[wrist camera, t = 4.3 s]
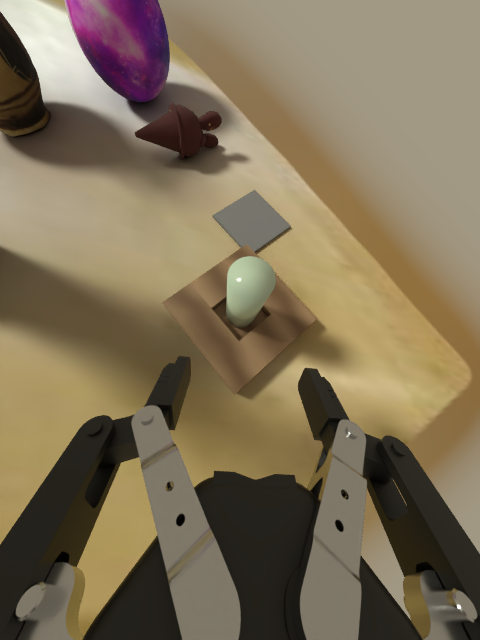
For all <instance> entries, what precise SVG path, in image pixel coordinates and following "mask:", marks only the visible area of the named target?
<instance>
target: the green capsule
mask: <svg viewBox="0 0 480 640" xmlns="http://www.w3.org/2000/svg"><path fill="white" fill-rule="evenodd" d="M275 283H276V277H275V273H274V271H273V269H272V267H271V266H270V265H269V264H268V263H267V262H266V261H264V260H263V259H261V258H258V257H253V256H247V257H242V258H240V259H238V260H236V261H235V262H234V263H233V264H232V265H231V266H230V268H229V270H228V274H227V302H226V318H227V320H228V322H229V323H230V324H231V325H232V326H233V327H235V328H246V327H248V326H249V325H250V324H251V323H252V322H253V320H254V319H255V317H256V316H257V314H258V313H259V311H260V310H261V308H262V306H263V305H264V303H265V302H266V300H267V299H268V297H269V296H270V294H271V292H272V291H273V289H274V287H275Z"/></svg>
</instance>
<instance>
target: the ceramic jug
mask: <svg viewBox="0 0 480 640" xmlns="http://www.w3.org/2000/svg"><path fill="white" fill-rule="evenodd" d="M50 116H51V113H50V112H49V111H48V110H47V109H46V107H45V106H44V103H43V100H42V95H41V88H40V83H39V78H38V75H37V72H36V69H35V67H34V65H33V63H32V61H31V58H30V56H29V54H28V52H27V50H26V48H25V47H24V45H23V43H22V42H21V40H20V38H19V37H18V35H17V34H16V32H15V31H14V29H13V28H12V27H11V25H10V24H9V23H8V21H7V20H6V19H5V17H4V16H3V14H2V13H1V12H0V130H1V131H2V132H4V133H5V134H7V135H9V136H11V137H12V136H18V135H22V134H27V133H30V132H33V131H35V130H38V129H40V128H43V127H44V126H45V125H46V123H47V122H48V120H49V118H50Z"/></svg>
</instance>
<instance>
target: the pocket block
mask: <svg viewBox="0 0 480 640" xmlns="http://www.w3.org/2000/svg"><path fill="white" fill-rule="evenodd" d="M247 256H253V257H258V258H260V257H259V256H258V255H257V254H256V253H255V252H254V251H253V250H252V249H251V248H250V247H249V246H248V245H247V244H246V245H245V246H243V247H242V248H241V249H239V250H238V251H236V252H235V253H233V254H232V255H230V256H229V257H228V258H226V259H225V260H223V261H222V262H220V263H219V264H217V265H216V266H215V267H213V268H212V269H210V270H209V271H207V272H206V273H204V274H203V275H201V276H200V277H199V278H197V279H196V280H194V281H193V282H191V283H190V284H188V285H187V286H186V287H184V288H183V289H181V290H180V291H178V292H177V293H175V294H174V295H173V296H171V297H170V298H168V299H167V300H165V301H164V302H162V304H163V305H164V306H165V308H166V309H167V310H168V311H169V313H170V314H171V315H172V316H173V318H174V319H175V320H176V321H177V323H178V324H179V325H180V326H181V328H182V329H183V330H184V332H185V333H186V334H187V335H188V337H189V338H190V339H191V340H192V342H193V343H194V344H195V345H196V347H197V348H198V349H199V350H200V352H201V353H202V354H203V355H204V357H205V358H206V359H207V361H208V362H209V363H210V364H211V366H212V367H213V368H214V369H215V371H216V372H217V373H218V374H219V376H220V377H221V378H222V379H223V381H224V382H225V383H226V384H227V386H228V387H229V388H230V390H231V391H232V392H233V393H234V395H235V394H236V393H237V392H238V391H239V390H240V389H241V388H242V387H243V386H244V385H246V384H247V383H248V382H249V381H250V380H251V379H252V378H253V377H254V376H255V375H256V374H257V373H259V372H260V371H261V370H262V369H263V368H264V367H265V366H266V365H267V364H268V363H269V362H271V361H272V360H273V359H274V358H275V357H276V356H277V355H278V354H279V353H280V352H281V351H283V350H284V349H285V348H286V347H287V346H288V345H289V344H290V343H291V342H292V341H293V340H295V339H296V338H297V337H298V336H299V335H300V334H301V333H302V332H303V331H304V330H305V329H307V328H308V327H309V326H310V325H311V324H312V323H313V322H314V321H315V320H316V319H317V318H316V317H315V316H314V315H313V314H312V313H311V312H310V311H309V310H308V309H307V308H306V307H305V306H304V304H303V303H302V302H301V301H300V300H299V299H298V298H297V297H296V296H295V295H294V294H293V293H292V292H291V291H290V289H289V288H288V287H287V286H286V285H285V284H284V283H283V282H282V281H281V280H280V279H279V278H278V277H277V276H276V275H275V277H276V283H275V287H274V289H273V291H272V292H271V294H270V296H269V297H268V299H267V300H266V302H265V303H264V305H263V306H262V308H261V310H260V311H259V313H258V314H257V316H256V317H255V319H254V320H253V322H252V323H251V324H250V325H249V326H248V327H246V328H235V327H233V326H232V325H231V324H230V323H229V322H228V320H227V318H226V302H227V274H228V270H229V268H230V266H231V265H232V264H233V263H234V262H235V261H236V260H238V259H240V258H242V257H247Z"/></svg>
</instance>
